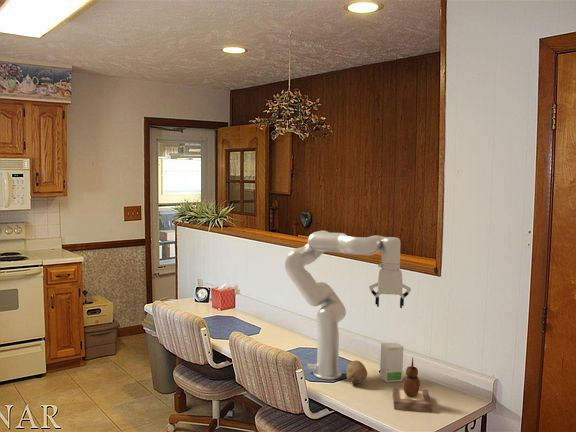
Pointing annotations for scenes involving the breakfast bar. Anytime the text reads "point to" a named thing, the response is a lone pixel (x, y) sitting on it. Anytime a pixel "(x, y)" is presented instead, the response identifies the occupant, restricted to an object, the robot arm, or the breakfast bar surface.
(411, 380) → the wooden figurine
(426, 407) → the walnut plinth
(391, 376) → the skincare box
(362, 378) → the natural sponge
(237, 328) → the breakfast bar surface
